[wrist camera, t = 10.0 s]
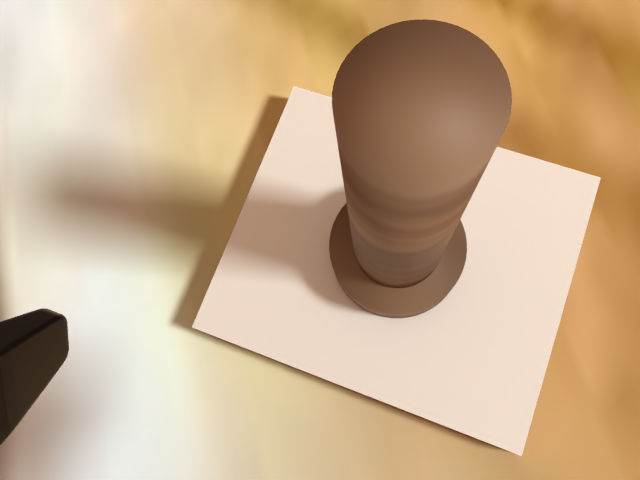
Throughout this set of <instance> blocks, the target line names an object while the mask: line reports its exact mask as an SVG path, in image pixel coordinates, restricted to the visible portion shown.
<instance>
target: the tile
mask: <svg viewBox="0 0 640 480" xmlns="http://www.w3.org/2000/svg"><path fill="white" fill-rule="evenodd" d="M599 182H600V177H597V176H593V175H590V174H587V173H583V172H580V171H577V170H573V169H570V168H567V167H563V166H560V165H557V164H553V163H550V162H547V161H543V160H540V159H537V158H533V157H530V156H526V155H523V154H520V153H516V152H513V151H510V150H506V149H503V148H500V147H496V149H495V151H494V153H493V155H492V157H491V159H490V161H489V163H488V165H487V167H486V169H485V171H484V173H483V175H482V177H481V179H480V181H479V183H478V185H477V187H476V189H475V191H474V193H473V195H472V197H471V199H470V201H469V203H468V205H467V207H466V209H465V211H464V213H463V215H462V217H461V219H460V220H461V222H462V224H463V227H464V230H465V234H466V240H467V255H466V261H465V265H464V269H463V271H462V274H461V276H460V278H459V280H458V281H457V283H456V284H455V286H454V287H453V288H452V290H451V291H450V292H449V293H448V295H447V296H446V297H445V298H444V299H443V300H442V301H441V302H440V303H439V304H438V305H436V306H435V307H434V308H432V309H430V310H429V311H427V312H425V313H422V314H420V315H417V316H413V317H409V318H387V317H381V316H378V315H375V314H372V313H370V312H368V311H366V310H364V309H362V308H361V307H359V306H358V305H357V304H355V303H354V302H353V301H352V300H351V299H350V298H349V297H348V296H347V295H346V294H345V292H344V291H343V289H342V288H341V286H340V284H339V283H338V281H337V278H336V275H335V273H334V270H333V267H332V263H331V259H330V252H329V239H330V233H331V229H332V226H333V223H334V221H335V219H336V217H337V215H338V213H339V212H340V210H341V208H342V207H343V206H344V205H345V204H346V196H345V189H344V183H343V176H342V170H341V163H340V157H339V150H338V143H337V137H336V130H335V124H334V117H333V109H332V97H329V96H325V95H322V94H319V93H315V92H312V91H309V90H305V89H302V88H299V87H295V86H294V87H293V90H292V92H291V94H290V97H289V99H288V101H287V104H286V106H285V108H284V111H283V113H282V115H281V118H280V120H279V123H278V125H277V127H276V130H275V132H274V134H273V137H272V139H271V141H270V144H269V146H268V149H267V151H266V153H265V156H264V158H263V160H262V163H261V165H260V167H259V170H258V172H257V174H256V177H255V179H254V182H253V184H252V186H251V189H250V191H249V193H248V196H247V198H246V200H245V203H244V205H243V208H242V210H241V212H240V215H239V217H238V219H237V222H236V224H235V226H234V229H233V231H232V234H231V236H230V238H229V241H228V243H227V245H226V248H225V250H224V252H223V255H222V257H221V259H220V262H219V264H218V267H217V269H216V271H215V274H214V276H213V278H212V281H211V283H210V285H209V288H208V290H207V293H206V295H205V297H204V300H203V302H202V304H201V307H200V309H199V311H198V314H197V316H196V318H195V321H194V323H193V326H192V328H195V329H197V330H200V331H203V332H205V333H208V334H210V335H213V336H215V337H218V338H220V339H223V340H226V341H228V342H231V343H233V344H236V345H238V346H241V347H243V348H246V349H249V350H251V351H254V352H256V353H259V354H261V355H264V356H267V357H269V358H272V359H274V360H277V361H279V362H282V363H284V364H287V365H290V366H292V367H295V368H297V369H300V370H302V371H305V372H308V373H310V374H313V375H315V376H318V377H320V378H323V379H325V380H328V381H331V382H333V383H336V384H338V385H341V386H343V387H346V388H348V389H351V390H354V391H356V392H359V393H361V394H364V395H366V396H369V397H372V398H374V399H377V400H379V401H382V402H384V403H387V404H389V405H392V406H395V407H397V408H400V409H402V410H405V411H407V412H410V413H412V414H415V415H418V416H420V417H423V418H425V419H428V420H430V421H433V422H436V423H438V424H441V425H443V426H446V427H448V428H451V429H453V430H456V431H459V432H461V433H464V434H466V435H469V436H471V437H474V438H476V439H479V440H482V441H484V442H487V443H489V444H492V445H494V446H497V447H500V448H502V449H505V450H507V451H510V452H512V453H515V454H517V455H520V456H522V453H523V449H524V446H525V442H526V439H527V435H528V432H529V428H530V425H531V421H532V418H533V414H534V411H535V407H536V403H537V400H538V396H539V393H540V389H541V386H542V382H543V379H544V375H545V372H546V368H547V365H548V361H549V358H550V354H551V351H552V347H553V344H554V340H555V337H556V333H557V330H558V326H559V323H560V319H561V316H562V312H563V309H564V305H565V301H566V298H567V294H568V291H569V287H570V284H571V280H572V277H573V273H574V270H575V266H576V263H577V259H578V256H579V252H580V249H581V245H582V242H583V238H584V235H585V231H586V228H587V224H588V221H589V217H590V214H591V210H592V206H593V203H594V199H595V196H596V192H597V189H598V185H599Z"/></svg>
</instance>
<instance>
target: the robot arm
mask: <svg viewBox="0 0 640 480" xmlns="http://www.w3.org/2000/svg"><path fill="white" fill-rule="evenodd" d="M68 351H69V342H68V327H67V320H66V318H65V316H63V315H62V314H59V313H57V312H54V311H52V310H49V309H38V310H35V311H32V312H29V313H26V314H23V315H20V316H17V317H14V318H11V319H8V320H4V321H1V322H0V445H1V444H2V443H3V442H4V441H5V439H6V438H7V437H8V436H9V435H10V434H11V432H12V431H13V430H14V429H15V427H16V426H17V425H18V424H19V422H20V421H21V420H22V418H23V417H24V416H25V414H26V413H27V412H28V410H29V409H30V408H31V406H32V405H33V403H34V402H35V401H36V399H37V398H38V397H39V395H40V394H41V393H42V391H43V390H44V389H45V387H46V386H47V385H48V383H49V382H50V381H51V379H52V378H53V377H54V375H55V374H56V372H57V371H58V370H59V368H60V367H61V366H62V364H63V363H64V361H65V360H66V358H67V355H68Z"/></svg>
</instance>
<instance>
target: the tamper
mask: <svg viewBox="0 0 640 480" xmlns="http://www.w3.org/2000/svg"><path fill="white" fill-rule="evenodd" d="M511 104H512V96H511V87H510V82H509V78H508V76H507V73H506V70H505V68H504V66H503V64H502V63H501V61H500V59H499V58H498V56H497V55H496V54H495V52H494V51H493V50H492V49H491V48H490V47H489V46H488V45H487V44H486V43H485V42H484V41H482V40H481V39H480V38H479V37H477V36H476V35H474V34H473V33H471V32H469V31H467V30H465V29H463V28H461V27H459V26H456V25H453V24H450V23H446V22H441V21H436V20H410V21H403V22H399V23H395V24H391V25H389V26H386V27H384V28H381V29H379V30H377V31H375V32H373V33H372V34H370V35H369V36H367V37H366V38H364V39H363V40H362V41H361V42H360V43H358V44H357V45H356V46H355V47H354V48H353V49H352V50H351V52H350V53H349V54H348V55H347V57H346V58H345V60H344V61H343V63H342V64H341V66H340V68H339V70H338V72H337V75H336V78H335V81H334V86H333V91H332V109H333V117H334V124H335V130H336V137H337V143H338V150H339V157H340V163H341V170H342V176H343V183H344V189H345V196H346V204H345V205H344V206H343V207H342V208H341V210H340V212H339V213H338V215H337V217H336V219H335V221H334V223H333V226H332V229H331V233H330V239H329V252H330V259H331V263H332V267H333V270H334V273H335V275H336V278H337V281H338V283H339V284H340V286H341V288H342V289H343V291H344V292H345V294H346V295H347V296H348V297H349V298H350V299H351V300H352V301H353V302H354V303H355V304H357V305H358V306H359V307H361V308H362V309H364V310H366V311H368V312H370V313H372V314H375V315H378V316H381V317H387V318H409V317H413V316H417V315H420V314H422V313H425V312H427V311H429V310H430V309H432V308H434V307H435V306H436V305H438V304H439V303H440V302H441V301H442V300H443V299H444V298H445V297H446V296H447V295H448V293H449V292H450V291H451V290H452V288H453V287H454V286H455V284H456V283H457V281H458V280H459V278H460V276H461V274H462V271H463V269H464V265H465V261H466V255H467V240H466V234H465V230H464V227H463V224H462V222H461V220H460V219H461V217H462V215H463V213H464V211H465V209H466V207H467V205H468V203H469V201H470V199H471V197H472V195H473V193H474V191H475V189H476V187H477V185H478V183H479V181H480V179H481V177H482V175H483V173H484V171H485V169H486V167H487V165H488V163H489V161H490V159H491V157H492V155H493V153H494V151H495V149H496V147H497V145H498V143H499V141H500V139H501V137H502V135H503V133H504V131H505V129H506V126H507V124H508V121H509V117H510V113H511Z"/></svg>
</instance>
